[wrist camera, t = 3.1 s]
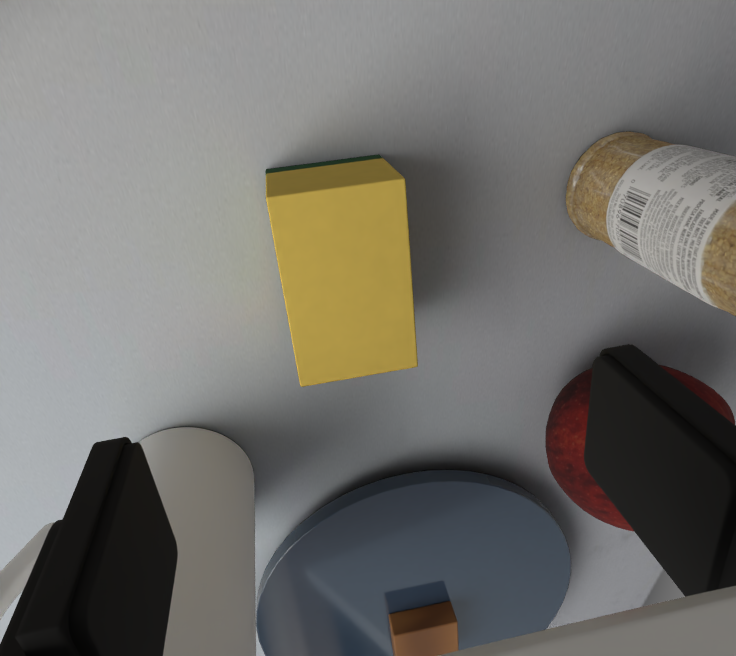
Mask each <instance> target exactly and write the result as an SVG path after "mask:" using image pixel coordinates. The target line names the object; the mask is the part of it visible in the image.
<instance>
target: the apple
mask: <svg viewBox="0 0 736 656" xmlns="http://www.w3.org/2000/svg"><path fill="white" fill-rule="evenodd" d="M660 366H661V367H662V368H663V369H665V370H666V371H667V372H668V373H670V374H671V375H672V376H674V377H675V378H676V379H677V380H679V381H680V382H681V383H682V384H684V385H685V386H686V387H687V388H689V389H690V390H691V391H692V392H694V393H695V394H696V395H698V396H699V397H700V398H701V399H703V400H704V401H705V402H706V403H708V404H709V405H710V406H711V407H713V408H714V409H715V410H717V411H718V412H719V413H720V414H722V415H723V416H724V417H725V418H727V419H728V420H729V421H730V422H732V423H733V424H734V425H735V420H734V416H733V413H732V411H731V409H730V407H729V405H728V404H727V402H726V401H725V400H724V399H723V398H722V397H721V396H720V395H719V394H718V393H717V392H716V391H714V390H713V389H712V388H711V387H709V386H708V385H706V384H705V383H703V382H701V381H700V380H698V379H696V378H694V377H692V376H690V375H688V374H686V373H683V372H681V371H679V370H675V369H672V368H669V367H666V366H662V365H660ZM592 370H593V368H591V369H589V370H586V371H585V372H583V373H581V374H579V375H578V376H576V377H575V378H574V379H572V380H571V381H570V382H569V383H568V384H567V385H566V386H565V387H564V388H563V389H562V390H561V392H560V393H559V395H558V396H557V398H556V399H555V402H554V404H553V406H552V409H551V411H550V414H549V418H548V422H547V426H546V453H547V459H548V464H549V467H550V470H551V472H552V474H553V476H554V478H555V480H556V481H557V483H558V484H559V486H560V487H561V488H562V489H563V491H564V492H565V493H566V494H567V495H568V496H569V497H570V498H571V499H572V500H573V501H574V502H575V503H576V504H577V505H578V506H579V507H580V508H582V509H583V510H584V511H586V512H587V513H589V514H590V515H592V516H593V517H595V518H597V519H599V520H601V521H603V522H605V523H608V524H610V525H613V526H615V527H619V528H622V529H625V530H630V531H634V530H633V529H632V528H631V526H630V525H629V524H628V522H627V521H626V520H625V519H624V517H623V516H622V515H621V513H620V512H619V511H618V510H617V508H616V507H615V506H614V504H613V503H612V502H611V501H610V499H609V498H608V497H607V495H606V494H605V493H604V492H603V490H602V489H601V488H600V487H599V485H598V484H597V483H596V481H595V480H594V479H593V478H592V476H591V475H590V474H589V472H588V470H587V468H586V466H585V462H584V448H585V438H586V428H587V419H588V409H589V399H590V389H591V379H592Z"/></svg>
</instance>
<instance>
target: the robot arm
mask: <svg viewBox="0 0 736 656" xmlns="http://www.w3.org/2000/svg"><path fill="white" fill-rule="evenodd" d="M584 462H585V466H586V468H587V470H588V472H589V474H590V475H591V476H592V478H593V479H594V480H595V481H596V483H597V484H598V485H599V487H600V488H601V489H602V490H603V492H604V493H605V494H606V495H607V497H608V498H609V499H610V501H611V502H612V503H613V504H614V506H615V507H616V508H617V510H618V511H619V512H620V513H621V515H622V516H623V517H624V519H625V520H626V521H627V522H628V524H629V525H630V526H631V528H632V529H633V530H634V531H635V533H636V534H637V535H638V536H639V538H640V539H641V540H642V542H643V543H644V544H645V545H646V547H647V548H648V549H649V551H650V552H651V553H652V554H653V556H654V557H655V558H656V560H657V561H658V562H659V563H660V565H661V566H662V567H663V569H664V570H665V571H666V572H667V574H668V575H669V576H670V577H671V579H672V580H673V581H674V583H675V584H676V585H677V586H678V588H679V589H680V590H681V592H682V593H683V594H684V595H685V597H683V598H679V599H674V600H670V601H665V602H661V603H657V604H652V605H648V606H644V607H640V608H635V609H631V610H627V611H623V612H618V613H614V614H610V615H605V616H601V617H597V618H593V619H588V620H584V621H580V622H576V623H571V624H567V625H563V626H559V627H555V628H550V629H546V630H542V631H538V632H534V633H530V634H525V635H521V636H517V637H513V638H509V639H505V640H500V641H496V642H492V643H488V644H484V645H480V646H476V647H471V648H467V649H463V650H459V651H455V652H451V653H447V654H442V655H438V656H736V426H735V425H734V424H733V423H732V422H730V421H729V420H728V419H727V418H725V417H724V416H723V415H722V414H720V413H719V412H718V411H717V410H715V409H714V408H713V407H711V406H710V405H709V404H708V403H706V402H705V401H704V400H703V399H701V398H700V397H699V396H698V395H696V394H695V393H694V392H692V391H691V390H690V389H689V388H687V387H686V386H685V385H684V384H682V383H681V382H680V381H679V380H677V379H676V378H675V377H674V376H672V375H671V374H670V373H668V372H667V371H666V370H665V369H663V368H662V367H661V366H660V365H658V364H657V363H656V362H655V361H653V360H652V359H651V358H649V357H648V356H647V355H646V354H644V353H643V352H642V351H641V350H639V349H638V348H637V347H635V346H634V345H631V344H628V345H622V346H617V347H612V348H606V349H604V350H602V352H601V353H600V357H597V358H595V360H594V362H593V370H592V379H591V389H590V399H589V409H588V419H587V428H586V438H585V448H584ZM177 559H178V550H177V543H176V539H175V536H174V534H173V531H172V528H171V525H170V522H169V520H168V517H167V514H166V511H165V509H164V506H163V503H162V500H161V498H160V495H159V492H158V489H157V487H156V484H155V481H154V478H153V475H152V473H151V470H150V467H149V464H148V462H147V459H146V456H145V453H144V451H143V448H142V446H141V444H140V443H138V442H137V443H131V441H130V440H129V438H127V437H123V438H117V439H112V440H106V441H101V442H96V443H95V444H94V445H93V447H92V449H91V451H90V454H89V456H88V459H87V461H86V464H85V466H84V469H83V471H82V473H81V476H80V478H79V481H78V483H77V486H76V488H75V491H74V493H73V496H72V498H71V500H70V503H69V505H68V508H67V510H66V513H65V515H64V518H63V519H62V520H58V521H56V522H55V523H54V524H53V525H52V526H51V528H50V530H49V532H48V534H47V536H46V539H45V541H44V543H43V546H42V548H41V550H40V553H39V555H38V557H37V560H36V562H35V564H34V567H33V569H32V571H31V574H30V576H29V578H28V581H27V583H26V585H25V588H24V590H23V592H22V595H21V597H20V599H19V602H18V604H17V607H16V609H15V611H14V614H13V616H12V618H11V621H10V623H9V625H8V628H7V630H6V632H5V635H4V637H3V639H2V642H1V644H0V656H163V652H164V645H165V639H166V632H167V625H168V619H169V612H170V606H171V599H172V593H173V586H174V579H175V573H176V566H177Z"/></svg>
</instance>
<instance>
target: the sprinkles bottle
mask: <svg viewBox="0 0 736 656" xmlns="http://www.w3.org/2000/svg"><path fill="white" fill-rule="evenodd" d="M566 205H567V211H568V214H569V217H570V219H571V220H572V222H573V223H574V224H575V226H576V227H577V229H578V230H580V231H581V232H582V233H584V234H585V235H587V236H589V237H591V238H594V239H597V240H602V241H604V242H605V243H607V244H609V245H610V246H612V247H614V248H616V249H617V250H618V251H619V252H620V253H621V254H623V255H624V256H626V257H628V258H629V259H631V260H633V261H635V262H636V263H638V264H640V265H642V266H643V267H645V268H647V269H649V270H650V271H652V272H653V273H655V274H657V275H659V276H660V277H662V278H664V279H666V280H667V281H669V282H671V283H672V284H674V285H676V286H678V287H680V288H681V289H683V290H685V291H687V292H688V293H690V294H692V295H694V296H695V297H697V298H699V299H700V300H702V301H704V302H706V303H708V304H710V305H712V306H714V307H717V308H720V309H722V310H724V311H727V312H729V313H731V314H732V315H734V316H736V157H735V156H731V155H727V154H723V153H718V152H714V151H710V150H706V149H701V148H697V147H693V146H688V145H675V144H671V143H668V142H663V141H659V140H653V139H652V138H650V137H649V136H647V135H645V134H642V133H634V132H619V133H614V134H611V135H609V136H607V137H604V138H601V139H600V140H599V141H597V142H596V143H595V144H593V145H592V146H591V147H590V148H589V149H588V150H587V151H586V152H585V153H584V154H583V155H582V156H581V157H580V159H579V161H578V162H577V163H576V165H575V166H574V168H573V170H572V171H571V175H570V177H569V180H568V185H567V193H566Z"/></svg>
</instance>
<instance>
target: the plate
mask: <svg viewBox="0 0 736 656" xmlns="http://www.w3.org/2000/svg"><path fill="white" fill-rule="evenodd" d="M570 575H571V557H570V552H569V547H568V543H567V541H566V538H565V536H564V533H563V532H562V530H561V528H560V527H559V525H558V523H557V522H556V520H555V519H554V517H553V516H552V514H551V513H550V511H549V510H548V509H547V508H546V507H545V506H544V505H543V503H542V502H541V501H540V500H539V499H538V498H536V497H535V496H533V495H532V494H531V493H529V492H528V491H526V490H525V489H523V488H521V487H519V486H517V485H515V484H513V483H511V482H509V481H507V480H504V479H501V478H498V477H495V476H492V475H487V474H482V473H477V472H472V471H460V470H429V471H421V472H414V473H407V474H402V475H398V476H394V477H390V478H386V479H382V480H379V481H376V482H373V483H371V484H368V485H365V486H362V487H360V488H357V489H355V490H353V491H351V492H349V493H347V494H345V495H343V496H340V497H338V498H337V499H335V500H334V501H332V502H330V503H329V504H327V505H325V506H324V507H322V508H320V509H319V510H318V511H316V512H315V513H314V514H312V515H311V516H310V517H308V518H307V519H306V520H304V521H303V522H302V523H301V524H300V525H299V526H298V527H297V528H296V529H295V530H294V531H293V532H292V533H291V534H290V535H289V536H288V537H287V538H286V539H285V540H284V542H283V543H282V544H281V545H280V547H279V548H278V549H277V550H276V552H275V553H274V555H273V557H272V558H271V560H270V562H269V563H268V565H267V567H266V569H265V572H264V574H263V577H262V579H261V582H260V585H259V590H258V595H257V613H256V627H257V633H258V638H259V642H260V644H261V647H262V649H263V651H264V654H265V655H266V656H394V655H393V647H392V639H391V631H390V623H389V614H392V613H396V612H401V611H405V610H410V609H415V608H419V607H424V606H428V605H433V604H438V603H442V602H447V601H450V602H451V604H452V607H453V610H454V613H455V615H456V618H457V621H458V644H459V650H463V649H467V648H471V647H476V646H480V645H484V644H488V643H492V642H496V641H500V640H505V639H509V638H513V637H517V636H521V635H525V634H530V633H534V632H538V631H542V630H546V628H547V627H548V626H549V624H550V623H551V621H552V620H553V619H554V617H555V616H556V614H557V612H558V610H559V608H560V606H561V605H562V603H563V601H564V598H565V595H566V592H567V589H568V586H569V580H570Z"/></svg>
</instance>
